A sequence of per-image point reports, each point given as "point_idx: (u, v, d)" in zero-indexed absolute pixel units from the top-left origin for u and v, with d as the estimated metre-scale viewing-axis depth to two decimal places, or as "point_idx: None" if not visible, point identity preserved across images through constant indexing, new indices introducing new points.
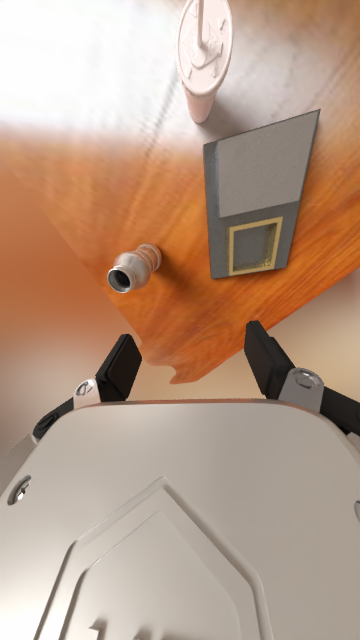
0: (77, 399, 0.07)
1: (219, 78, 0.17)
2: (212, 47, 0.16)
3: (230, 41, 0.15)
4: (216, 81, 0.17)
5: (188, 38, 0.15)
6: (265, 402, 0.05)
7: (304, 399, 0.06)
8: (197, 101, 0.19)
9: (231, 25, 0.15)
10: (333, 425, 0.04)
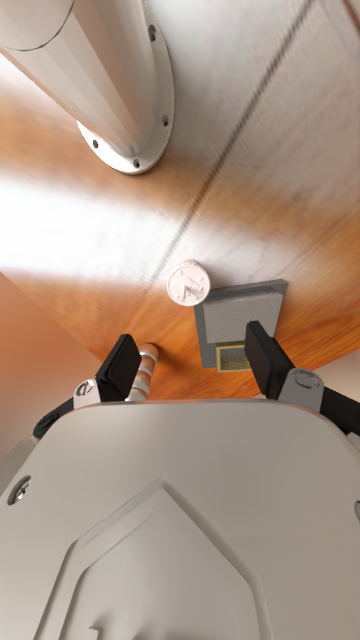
0: (77, 399, 0.07)
1: (201, 300, 0.22)
2: (194, 289, 0.20)
3: (208, 286, 0.20)
4: (198, 301, 0.22)
5: (176, 284, 0.20)
6: (265, 402, 0.05)
7: (304, 399, 0.06)
8: None
9: (208, 280, 0.20)
10: (333, 425, 0.04)
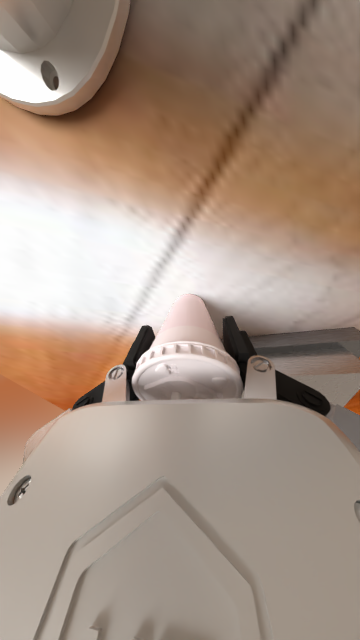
0: (111, 382, 0.08)
1: None
2: None
3: (237, 394, 0.08)
4: None
5: (154, 389, 0.08)
6: (265, 402, 0.05)
7: (255, 380, 0.07)
8: None
9: (240, 386, 0.07)
10: (333, 425, 0.04)
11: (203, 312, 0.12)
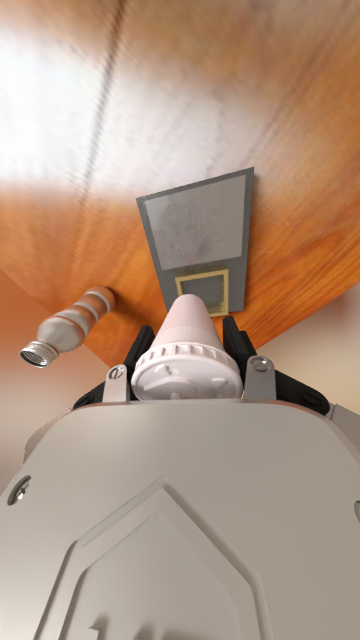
0: (111, 382, 0.08)
1: None
2: None
3: (237, 395, 0.08)
4: None
5: (154, 390, 0.08)
6: (265, 402, 0.05)
7: (255, 380, 0.07)
8: None
9: (240, 387, 0.07)
10: (333, 425, 0.04)
11: (203, 312, 0.12)
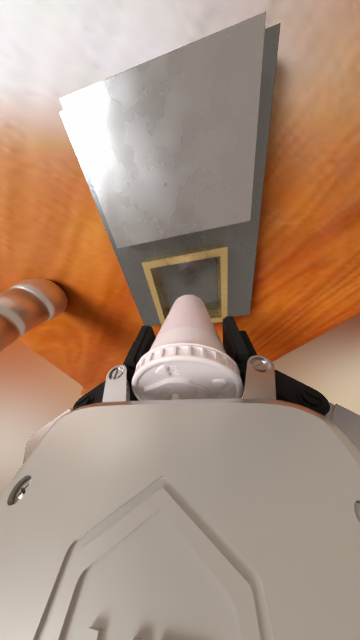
0: (111, 382, 0.08)
1: None
2: None
3: (237, 396, 0.08)
4: None
5: (154, 391, 0.08)
6: (265, 402, 0.05)
7: (255, 380, 0.07)
8: None
9: (240, 388, 0.07)
10: (333, 425, 0.04)
11: (203, 313, 0.12)
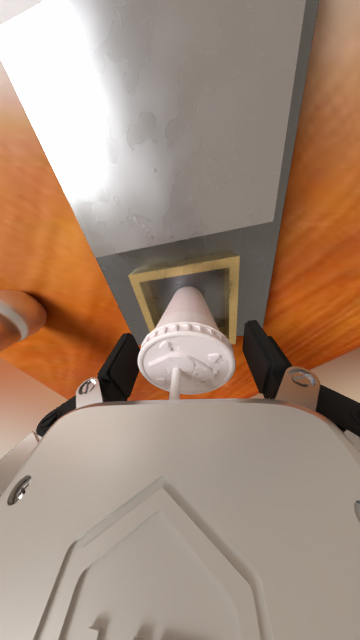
0: (79, 397, 0.07)
1: (212, 388, 0.10)
2: (200, 374, 0.09)
3: (230, 370, 0.09)
4: (207, 389, 0.10)
5: (158, 366, 0.09)
6: (265, 402, 0.05)
7: (300, 397, 0.06)
8: None
9: (232, 362, 0.08)
10: (333, 425, 0.04)
11: (201, 302, 0.13)
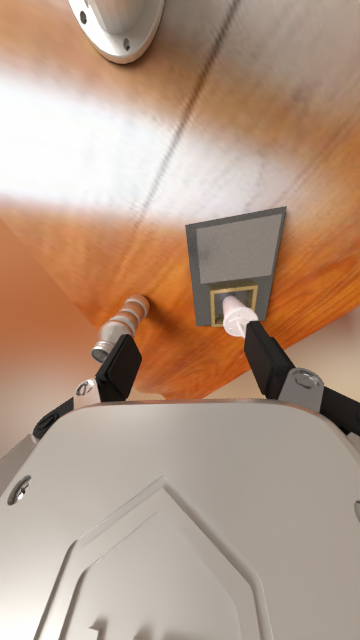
0: (77, 399, 0.07)
1: None
2: (245, 325, 0.27)
3: None
4: None
5: (232, 322, 0.27)
6: (265, 402, 0.05)
7: (304, 399, 0.06)
8: None
9: None
10: (333, 425, 0.04)
11: (241, 302, 0.31)
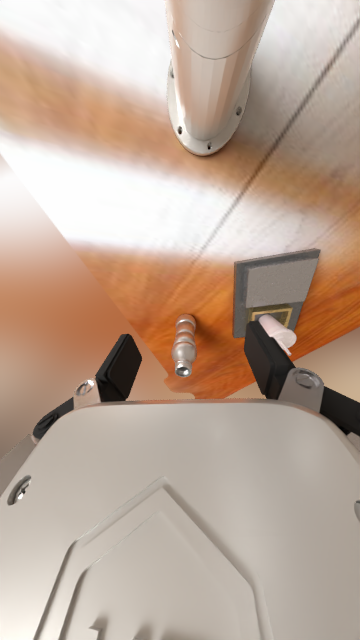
0: (77, 399, 0.07)
1: (287, 347, 0.36)
2: (286, 342, 0.34)
3: (294, 341, 0.34)
4: None
5: None
6: (265, 402, 0.05)
7: (304, 399, 0.06)
8: None
9: (295, 339, 0.34)
10: (333, 425, 0.04)
11: None
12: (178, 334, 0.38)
